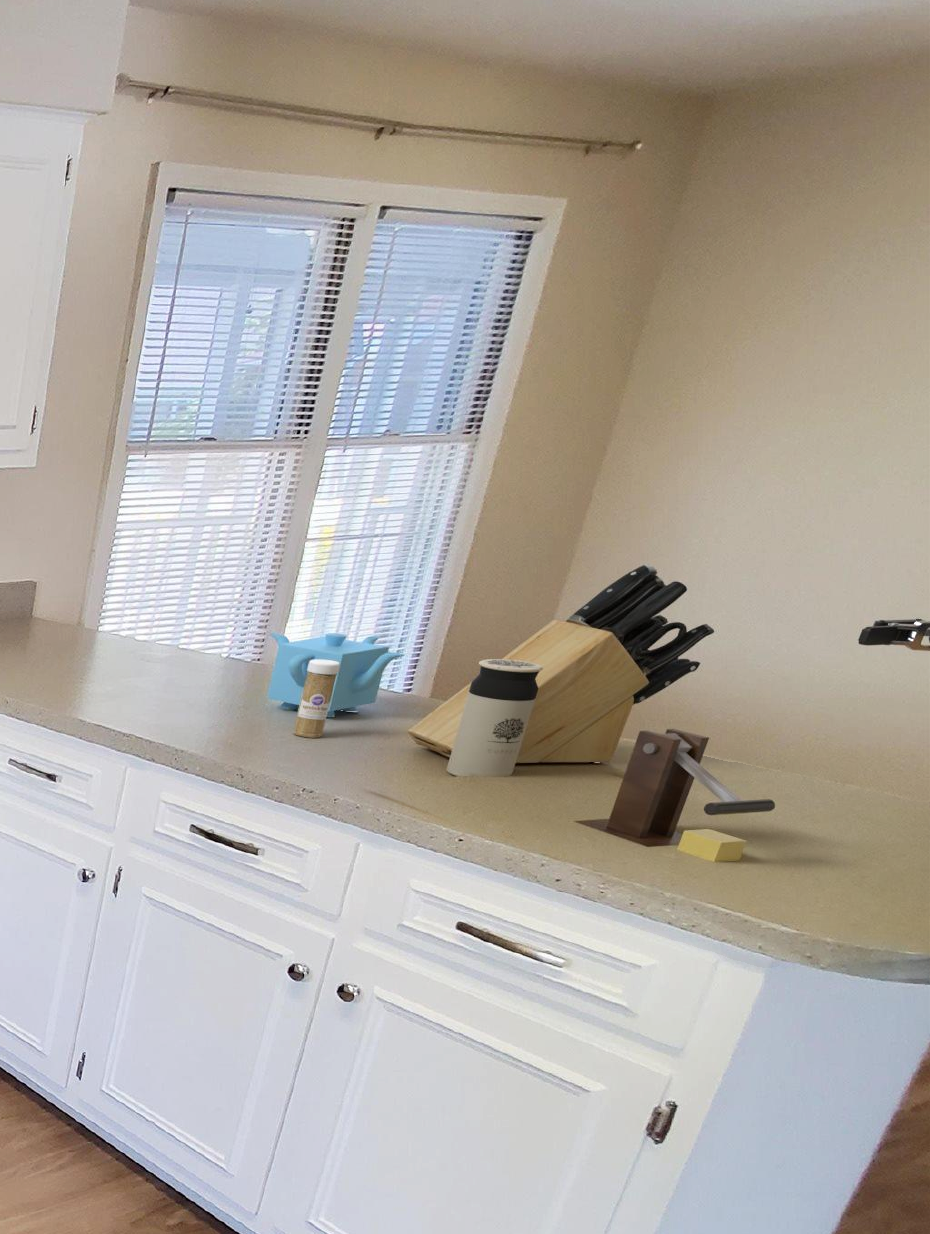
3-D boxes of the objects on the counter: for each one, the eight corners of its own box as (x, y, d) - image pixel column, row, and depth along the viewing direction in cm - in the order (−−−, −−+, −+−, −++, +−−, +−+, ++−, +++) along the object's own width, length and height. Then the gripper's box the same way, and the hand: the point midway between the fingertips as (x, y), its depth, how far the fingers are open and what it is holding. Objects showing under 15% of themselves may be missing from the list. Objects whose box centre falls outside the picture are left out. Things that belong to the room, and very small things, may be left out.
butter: (757, 871, 139) (769, 843, 138) (708, 874, 139) (719, 846, 137) (701, 852, 146) (711, 825, 144) (653, 855, 145) (663, 828, 144)
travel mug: (438, 766, 181) (469, 657, 175) (498, 770, 178) (532, 660, 172) (456, 781, 174) (489, 667, 168) (518, 785, 172) (554, 670, 165)
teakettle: (275, 718, 211) (292, 641, 205) (253, 695, 227) (268, 623, 222) (393, 725, 205) (415, 645, 199) (362, 700, 221) (380, 626, 216)
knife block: (674, 764, 179) (745, 569, 168) (449, 767, 181) (505, 573, 169) (613, 745, 190) (676, 560, 178) (401, 747, 191) (450, 564, 180)
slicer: (706, 851, 146) (747, 742, 140) (644, 855, 145) (684, 746, 140) (628, 825, 155) (664, 722, 150) (569, 829, 154) (604, 725, 149)
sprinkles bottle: (298, 738, 198) (315, 663, 193) (288, 731, 202) (304, 658, 197) (327, 738, 197) (345, 664, 192) (316, 732, 201) (333, 658, 196)
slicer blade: (765, 816, 139) (781, 802, 137) (707, 820, 138) (723, 806, 136) (681, 745, 148) (695, 731, 146) (626, 748, 147) (640, 734, 145)
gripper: (963, 596, 139) (848, 601, 137) (1127, 615, 125) (1002, 621, 124) (937, 655, 141) (824, 661, 140) (1095, 680, 128) (972, 687, 127)
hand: (908, 642), depth 132 cm, fingers open, 8 cm apart
